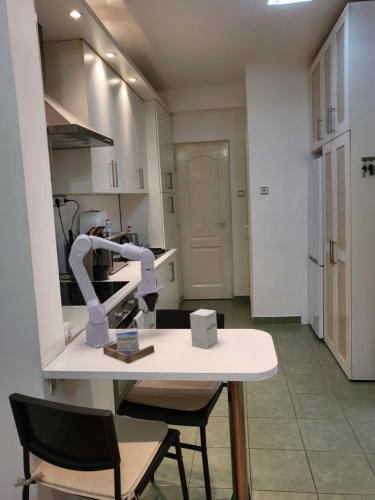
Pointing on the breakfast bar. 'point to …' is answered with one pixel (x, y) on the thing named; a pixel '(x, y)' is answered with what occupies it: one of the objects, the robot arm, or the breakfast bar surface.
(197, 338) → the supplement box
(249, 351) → the breakfast bar surface
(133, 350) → the medicine box
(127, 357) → the walnut bay
